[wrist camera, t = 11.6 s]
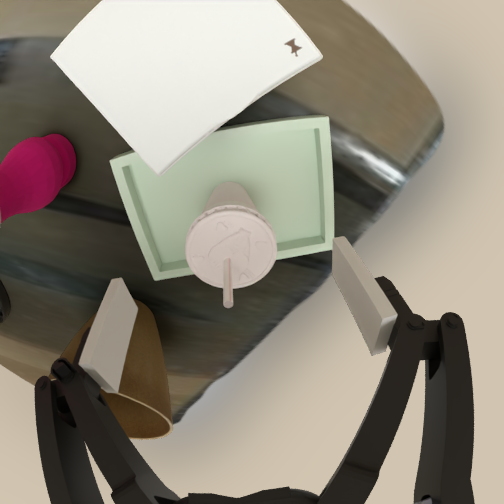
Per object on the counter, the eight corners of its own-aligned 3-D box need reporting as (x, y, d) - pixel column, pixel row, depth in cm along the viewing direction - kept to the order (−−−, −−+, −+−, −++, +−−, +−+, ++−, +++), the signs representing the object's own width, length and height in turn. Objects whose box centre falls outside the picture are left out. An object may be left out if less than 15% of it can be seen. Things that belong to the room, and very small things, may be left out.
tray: (158, 268, 31) (154, 280, 29) (118, 154, 24) (109, 160, 22) (327, 238, 31) (334, 249, 29) (320, 114, 23) (328, 116, 21)
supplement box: (215, 9, 17) (203, -73, 4) (274, 77, 21) (333, 58, 9) (137, 69, 19) (43, 56, 7) (195, 133, 24) (158, 183, 11)
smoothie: (186, 212, 27) (160, 314, 15) (215, 156, 24) (203, 227, 12) (242, 237, 29) (254, 345, 17) (274, 186, 26) (313, 276, 15)
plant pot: (145, 358, 41) (131, 445, 27) (70, 309, 34) (33, 397, 21) (204, 319, 36) (201, 428, 23) (116, 252, 30) (64, 363, 16)
